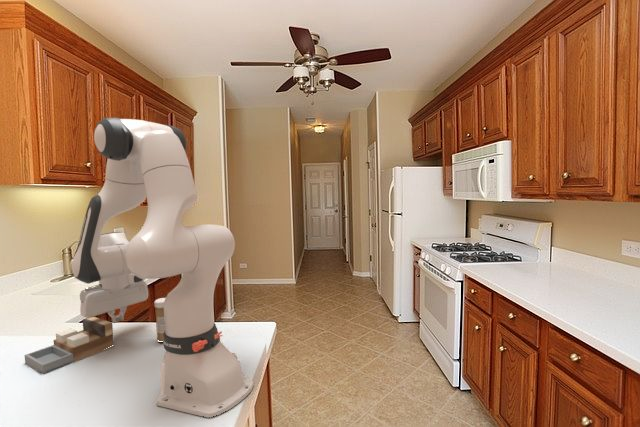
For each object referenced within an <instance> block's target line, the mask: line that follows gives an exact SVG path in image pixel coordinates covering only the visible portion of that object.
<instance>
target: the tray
mask: <svg viewBox="0 0 640 427" xmlns="http://www.w3.org/2000/svg"><path fill="white" fill-rule="evenodd" d="M72 363H75V362H74V361H73V354H72V353H70V352H68V351H66V350H64V349H62V348H60V347H57V346H55V345H54V344H52V345H50V346H47V347H45V348H41V349H38V350H35V351H33V352H30V353H26V354H24V364H25V365H27V366H28V367H31V368H32V369H34V370H35V371H37V372H39V373H41V374H42V375H45V374H48V373H50V372H53V371H55V370H57V369H60V368H63V367H66V366H68V365H70V364H72Z"/></svg>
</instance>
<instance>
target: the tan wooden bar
mask: <svg viewBox="0 0 640 427" xmlns="http://www.w3.org/2000/svg"><path fill="white" fill-rule="evenodd" d="M82 330H84V331H87V332H90V333H92V334H95V335H97V336H100V337H106V336H108V335H111V334H113V335H114V328H113V322H112V321H108V320H105V319H102V318H99V317H96V316H93V317H90V318H86V317H85V318H82Z"/></svg>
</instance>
